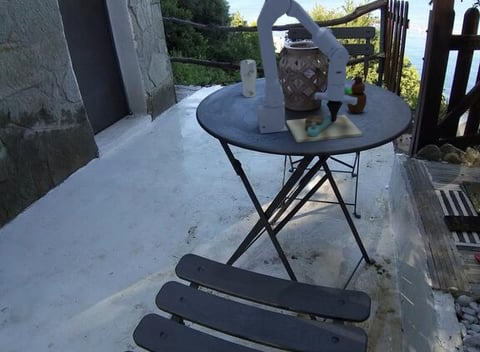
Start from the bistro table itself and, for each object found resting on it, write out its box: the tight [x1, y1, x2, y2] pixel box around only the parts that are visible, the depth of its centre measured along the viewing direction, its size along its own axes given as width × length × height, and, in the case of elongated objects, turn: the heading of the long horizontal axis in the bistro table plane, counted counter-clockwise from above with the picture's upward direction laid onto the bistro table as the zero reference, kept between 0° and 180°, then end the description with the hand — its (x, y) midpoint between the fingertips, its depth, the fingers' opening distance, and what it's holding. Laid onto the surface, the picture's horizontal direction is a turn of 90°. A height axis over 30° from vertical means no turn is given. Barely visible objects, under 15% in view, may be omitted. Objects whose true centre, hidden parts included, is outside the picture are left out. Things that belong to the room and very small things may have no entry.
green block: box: [344, 87, 353, 96], centre depth 150 cm, size 11×4×5 cm, turn 4°
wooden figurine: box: [346, 73, 367, 114], centre depth 137 cm, size 7×6×15 cm
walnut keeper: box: [305, 115, 325, 131], centre depth 126 cm, size 4×5×4 cm
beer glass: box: [240, 59, 257, 98], centre depth 162 cm, size 7×7×15 cm
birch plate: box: [285, 114, 363, 143], centre depth 129 cm, size 22×17×1 cm
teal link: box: [308, 113, 332, 136], centre depth 126 cm, size 16×4×4 cm, turn 144°
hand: (333, 121), depth 130 cm, fingers closed
